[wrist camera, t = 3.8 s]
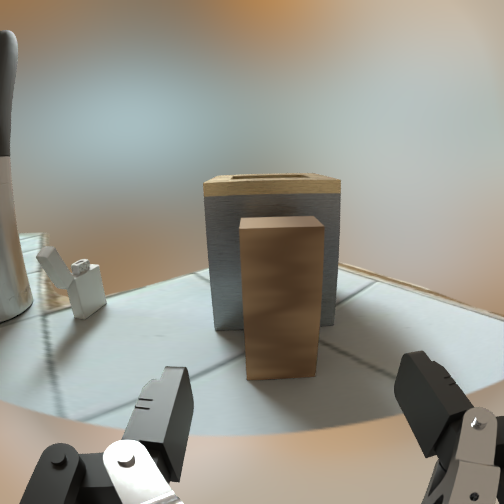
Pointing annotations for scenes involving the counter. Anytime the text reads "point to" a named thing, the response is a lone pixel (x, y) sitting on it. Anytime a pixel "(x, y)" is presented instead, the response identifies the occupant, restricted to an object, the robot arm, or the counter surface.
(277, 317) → the wooden block
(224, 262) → the coin box
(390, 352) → the counter surface
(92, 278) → the lighter
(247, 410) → the counter surface
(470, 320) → the counter surface
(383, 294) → the counter surface
